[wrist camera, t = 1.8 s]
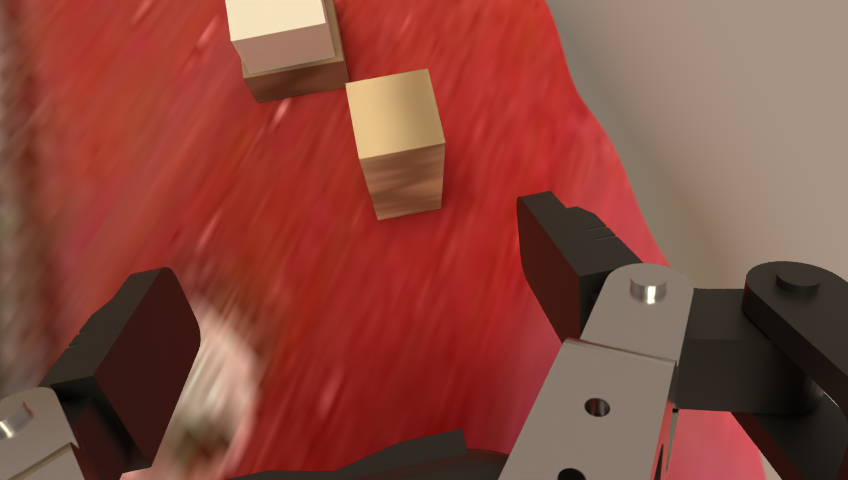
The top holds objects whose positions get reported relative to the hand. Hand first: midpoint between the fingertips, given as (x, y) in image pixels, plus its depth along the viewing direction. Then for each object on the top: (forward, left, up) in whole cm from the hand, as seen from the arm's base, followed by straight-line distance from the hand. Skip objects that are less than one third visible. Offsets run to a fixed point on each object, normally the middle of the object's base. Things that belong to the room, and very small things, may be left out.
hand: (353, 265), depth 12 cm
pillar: (0, +11, -22) cm, 25 cm away
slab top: (-8, +22, -19) cm, 30 cm away
